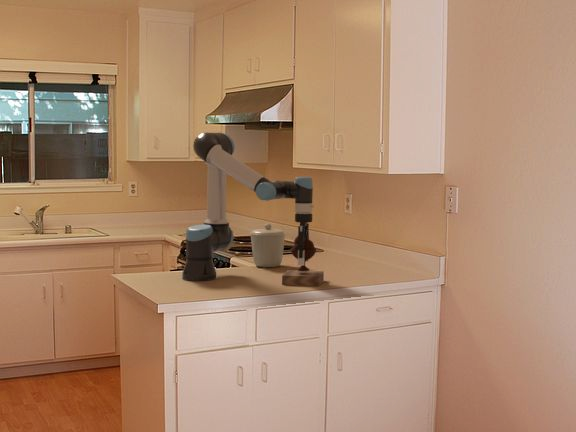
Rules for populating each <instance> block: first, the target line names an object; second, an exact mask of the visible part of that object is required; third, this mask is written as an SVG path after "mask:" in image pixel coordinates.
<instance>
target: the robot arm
mask: <svg viewBox="0 0 576 432" xmlns="http://www.w3.org/2000/svg"><path fill="white" fill-rule="evenodd" d="M192 146H193V147H192V148H193V152H194V153H195V155H196V156H197V157H198V158H199V159H200V160H202V161H203V162H204V164H205V165H206V167H207V186H206V187H207V189H206V190H207V193H206V195H207V196H206V200H207V201H206V202H207V203H206V207H207V208H206V219H205V220H204V221H203V224H194V225H191V226H189V227H187V228H186V232H185V249H186V250H185V255H186V256H185V259H186V261H185V264H184V268H183V270H182V276H181V278H182V279H183V280H185V279H186V280H185V281H191V280H194V282H195V281H196V282H200V281H201V282H204V281H205V282H206V281H212V280H216V279H217V270H216V268H215V265H214V262H213V253H215V252H222V251H224V250H226V249H228V248H229V247H231V245H232V243H233V241H234V231H233V230H232V228H231V227H230V221H229V220H228V219H227V214H226V213H227V175H229V176H230V177H232V178H233V179H234V180H236V181H238V182H239V183H241V184H243V185H244V186H245V187H246V188H248V189H250V190H252V191H253V192H254V193H255V194H256V197H257V198H258V199H259V200H261V201H265V202H266V201H267V202H268V201H273V200H280V199H293V200H294V212H295V214H294V221H295V222H296V223H299V225H298V227H297V228H298V229H297V230H298V233H297V236H298V245H297V248H296V250H298V259H297V266H300V267H301V266H304V254H305V250H304V244H305V238H306V239H309V240H310V232H309V231H310V230H309V228H310V227H309V226H310V224H309V223H312V222H313V208H314V207H315V206H314V205H313V194H314V190H313V189H314V186H313V185H314V184H313V183H314V182H313V178H312V177H310V176H296V177H295V180H294V181H291V180H273V181H271V180H269V179H268V178H267V177H265V176H263V175H262V174H260V173H259V172H258V171H255V170H254V168H251V167H250V166H248V165H247V164H246V163H244V162H242V161H241V160H239V159H238V158H236V157H234V156H233V154H234V153H235V148H236V147H235V142H234V140H233V138H232V137H231V136H230V135H229V134H227V133H223V132H202V133H200V134H198V135H197V136H196V137H195V139H194V140H193V144H192ZM306 262H309V260H306Z"/></svg>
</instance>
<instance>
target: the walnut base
mask: <svg viewBox="0 0 576 432" xmlns="http://www.w3.org/2000/svg"><path fill="white" fill-rule="evenodd" d="M324 273H325V271H324V270H321V271H319V270H309V271H298V270H297V269H295V270H293V269H292V270H290V269H288V270H286V271H285V272H284V273H283V274H282V275H281V277H282V278H281V279H282V280H281V285H282V286H284V285H285V286H304V287H305V286H308V287H309V286H310V287H320V286H321V285H322V283H323V282H324V278H325V277H324Z"/></svg>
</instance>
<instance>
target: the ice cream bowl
mask: <svg viewBox="0 0 576 432" xmlns="http://www.w3.org/2000/svg"><path fill="white" fill-rule="evenodd" d="M293 243H294V245H293V246H292V247H291V248H290V252H291V255H292V256H293V257H294V258H295V259H296V260H298V250H296V248H297V245H298V235H297V236H296V237H295V239H294V241H293ZM304 250H305V254H304V266H301V265H300V267H298V268H296V271H310V268H309V267H308V266H306V262H307V261H306V260H308V261H309V260H311V259H312V258H313V257H314V256H315V255H316V251H317V248H315V244H314V242H313V241H312V240H311V239H310V238H309V239H306V238H305V244H304Z"/></svg>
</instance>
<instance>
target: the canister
mask: <svg viewBox="0 0 576 432" xmlns="http://www.w3.org/2000/svg"><path fill="white" fill-rule="evenodd" d="M286 235H287V232H285V231H284V230H283V229H279V228H272V224H271V223H265V224H264V228H258V229H253V230H251V232H249V236H250V240H251V242H250V243H251V250H252V258H253V263H254V265H255V266H256V267H260V268H276V267H280V266H281V264H282V262H283V254H284V247H285V238H286Z"/></svg>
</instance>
